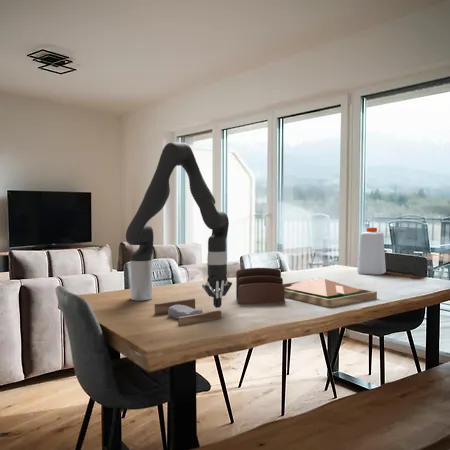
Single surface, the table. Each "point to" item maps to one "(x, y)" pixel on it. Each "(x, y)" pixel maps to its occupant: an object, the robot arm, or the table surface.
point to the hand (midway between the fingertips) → (217, 307)
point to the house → (323, 288)
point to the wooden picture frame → (333, 302)
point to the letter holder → (259, 286)
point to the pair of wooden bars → (163, 309)
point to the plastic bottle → (371, 253)
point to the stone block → (182, 311)
